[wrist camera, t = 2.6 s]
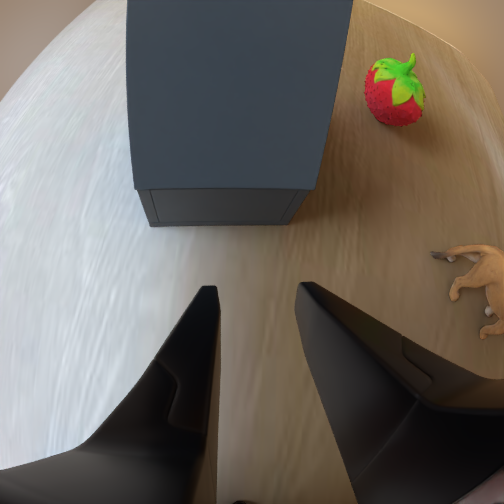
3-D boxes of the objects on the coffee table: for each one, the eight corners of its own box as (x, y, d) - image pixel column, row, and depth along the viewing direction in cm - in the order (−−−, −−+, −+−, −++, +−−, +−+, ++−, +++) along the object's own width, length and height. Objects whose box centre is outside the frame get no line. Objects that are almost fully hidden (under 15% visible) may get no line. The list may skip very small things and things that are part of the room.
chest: (161, 104, 27) (157, 59, 21) (271, 106, 28) (285, 63, 23) (150, 226, 23) (136, 190, 18) (287, 225, 25) (310, 190, 19)
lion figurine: (509, 318, 26) (569, 302, 18) (496, 359, 24) (561, 350, 16) (434, 235, 27) (497, 197, 19) (416, 277, 25) (488, 246, 17)
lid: (134, -48, 8) (131, -51, 8) (351, -29, 10) (358, -30, 10) (136, 183, 17) (134, 190, 17) (311, 183, 19) (315, 190, 19)
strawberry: (362, 144, 29) (411, 76, 19) (343, 92, 31) (379, 26, 22) (406, 149, 30) (458, 92, 20) (385, 100, 32) (425, 42, 23)
